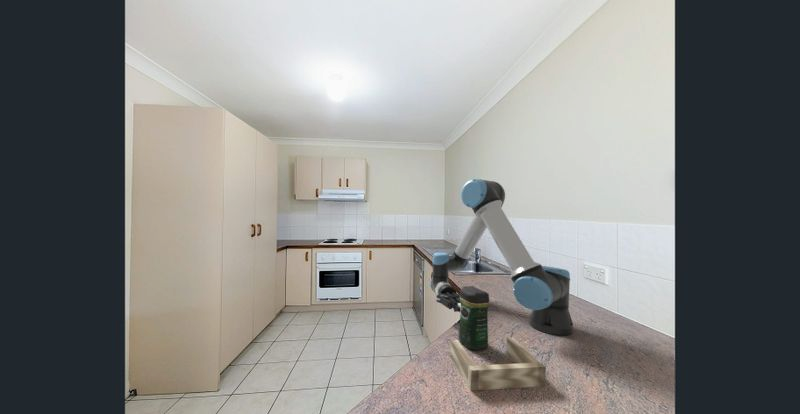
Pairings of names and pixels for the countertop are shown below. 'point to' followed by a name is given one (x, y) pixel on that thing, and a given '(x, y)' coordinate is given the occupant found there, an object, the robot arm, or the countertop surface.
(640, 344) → the countertop surface
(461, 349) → the u-shaped wooden molding
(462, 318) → the coffee jar
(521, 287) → the robot arm
